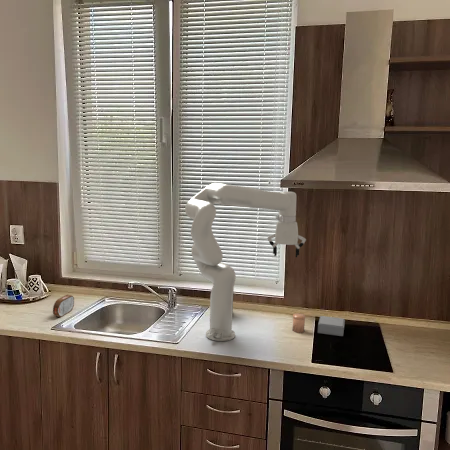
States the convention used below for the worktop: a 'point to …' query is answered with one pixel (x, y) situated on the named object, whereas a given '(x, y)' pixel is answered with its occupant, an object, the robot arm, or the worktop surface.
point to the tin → (63, 305)
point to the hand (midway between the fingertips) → (285, 256)
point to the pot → (298, 322)
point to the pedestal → (331, 325)
